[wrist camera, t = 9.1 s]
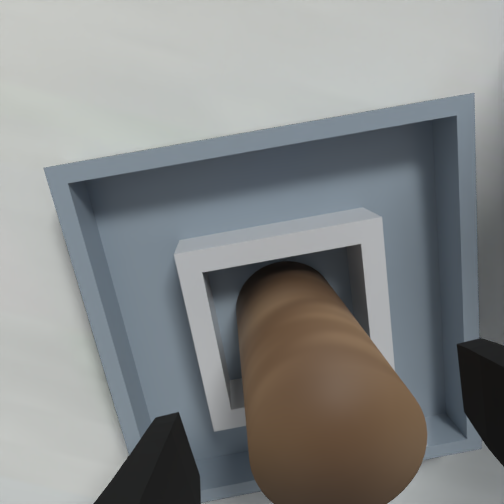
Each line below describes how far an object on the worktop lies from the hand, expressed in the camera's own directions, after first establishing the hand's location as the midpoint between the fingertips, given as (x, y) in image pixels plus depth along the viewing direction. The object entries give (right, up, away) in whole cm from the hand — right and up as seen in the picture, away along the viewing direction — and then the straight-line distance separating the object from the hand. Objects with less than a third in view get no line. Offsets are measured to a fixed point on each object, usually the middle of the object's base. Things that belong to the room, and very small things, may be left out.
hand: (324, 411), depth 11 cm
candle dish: (-1, +2, +7) cm, 8 cm away
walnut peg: (0, +2, +6) cm, 7 cm away
